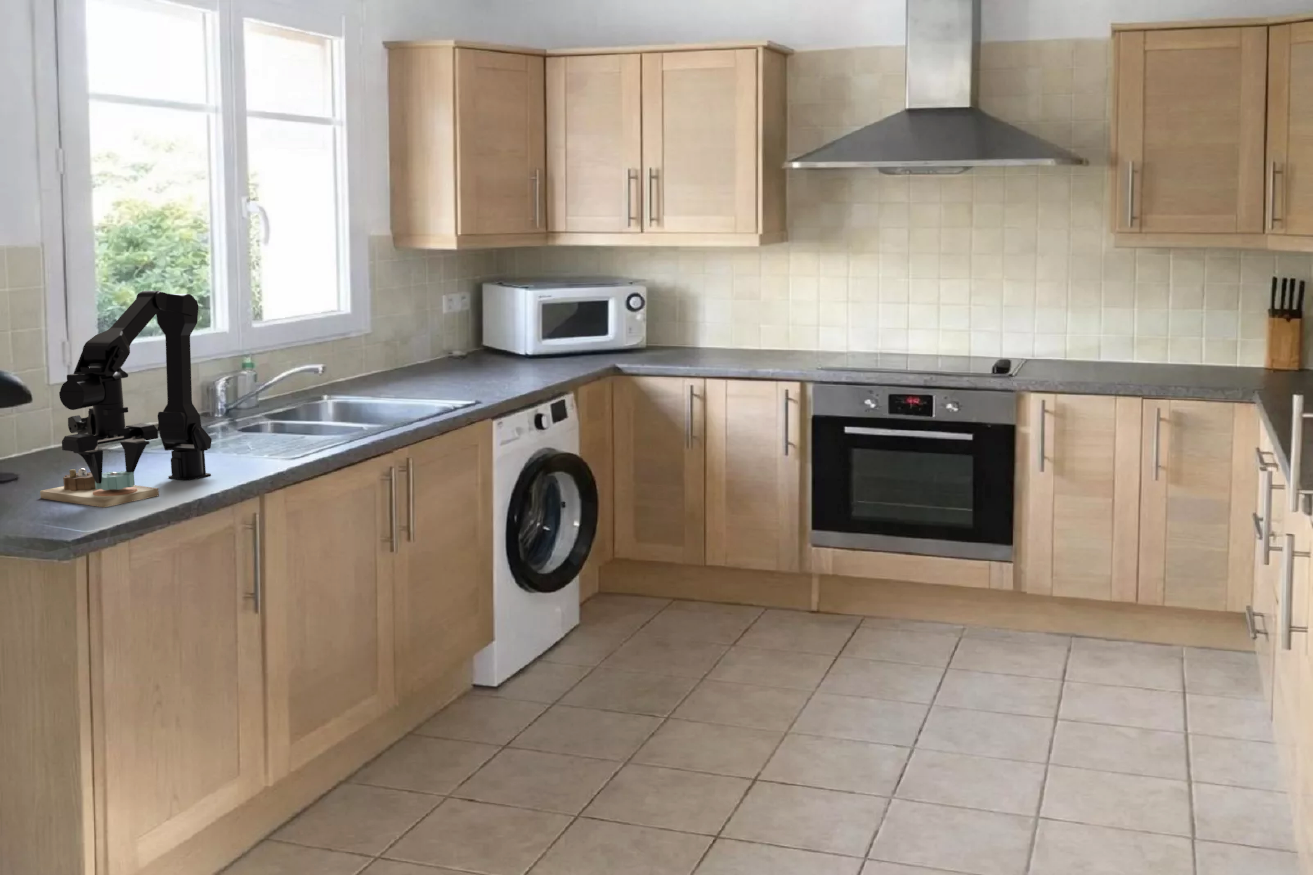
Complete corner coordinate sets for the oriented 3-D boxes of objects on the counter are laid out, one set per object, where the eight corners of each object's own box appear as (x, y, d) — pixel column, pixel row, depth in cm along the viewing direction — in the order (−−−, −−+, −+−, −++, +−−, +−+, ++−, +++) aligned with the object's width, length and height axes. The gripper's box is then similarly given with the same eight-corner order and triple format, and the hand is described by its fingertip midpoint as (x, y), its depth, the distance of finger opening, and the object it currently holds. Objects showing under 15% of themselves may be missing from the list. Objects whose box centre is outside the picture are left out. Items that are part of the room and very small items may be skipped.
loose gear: (119, 482, 292) (118, 470, 292) (141, 485, 288) (140, 472, 288) (88, 488, 286) (87, 475, 286) (111, 491, 282) (110, 478, 282)
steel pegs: (84, 486, 294) (82, 467, 293) (121, 491, 288) (119, 471, 287) (77, 487, 293) (76, 468, 292) (114, 492, 286) (112, 473, 286)
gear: (87, 482, 298) (85, 463, 297) (109, 485, 294) (108, 466, 293) (57, 488, 292) (55, 469, 291) (79, 492, 288) (77, 472, 287)
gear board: (95, 486, 301) (95, 478, 301) (158, 495, 291) (158, 487, 290) (40, 498, 290) (40, 489, 290) (104, 507, 280) (103, 498, 279)
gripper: (121, 394, 297) (127, 469, 299) (41, 406, 281) (48, 484, 284) (156, 397, 291) (162, 473, 293) (76, 410, 275) (83, 489, 278)
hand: (114, 480), depth 287 cm, fingers closed on loose gear, 7 cm apart
